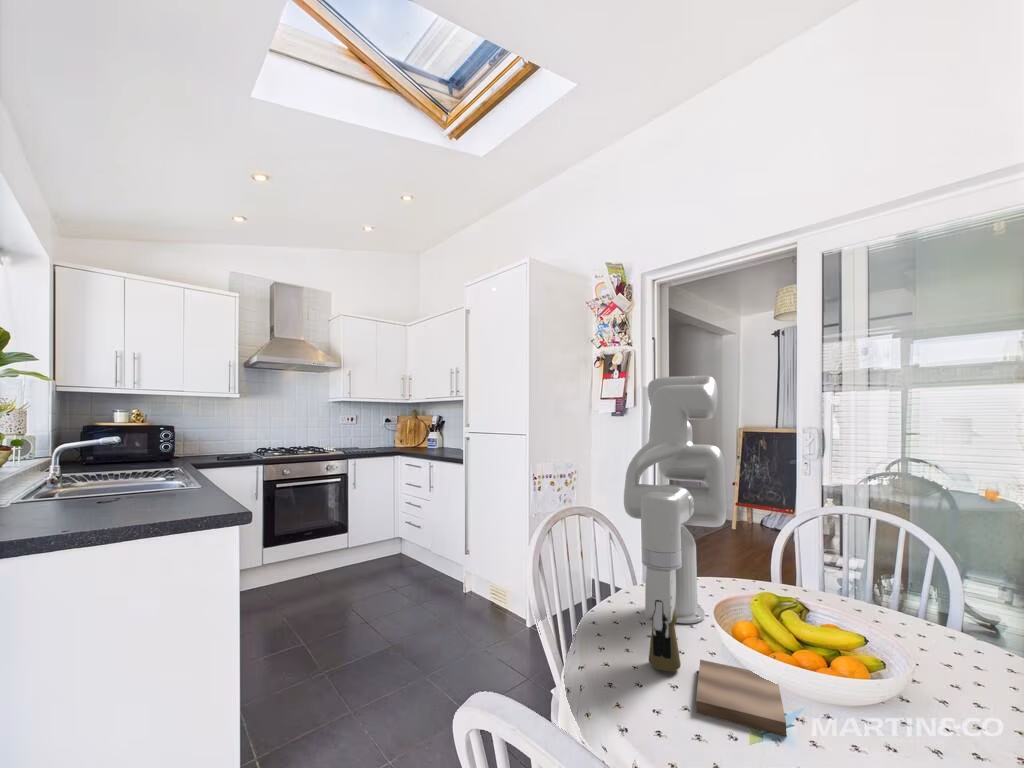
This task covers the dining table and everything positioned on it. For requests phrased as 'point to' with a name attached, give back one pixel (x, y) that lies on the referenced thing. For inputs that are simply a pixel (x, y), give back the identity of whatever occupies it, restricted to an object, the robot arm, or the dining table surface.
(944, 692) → the dining table surface
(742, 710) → the walnut board
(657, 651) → the robot arm
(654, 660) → the olive pawn
